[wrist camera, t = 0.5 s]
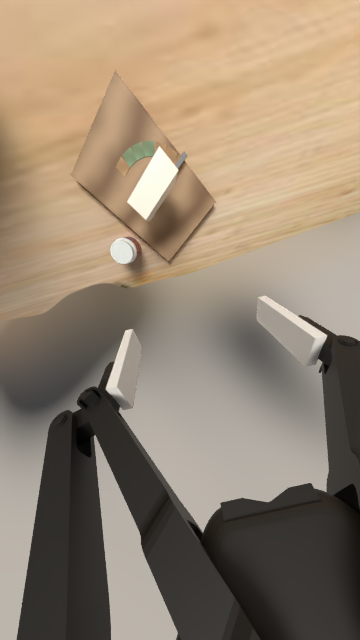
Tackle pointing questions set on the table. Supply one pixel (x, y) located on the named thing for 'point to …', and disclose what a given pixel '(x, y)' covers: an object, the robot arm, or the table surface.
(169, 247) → the board
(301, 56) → the table surface
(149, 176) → the white boxy piece
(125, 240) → the pill bottle
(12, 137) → the table surface
